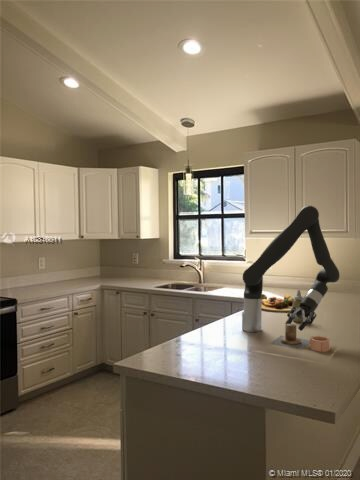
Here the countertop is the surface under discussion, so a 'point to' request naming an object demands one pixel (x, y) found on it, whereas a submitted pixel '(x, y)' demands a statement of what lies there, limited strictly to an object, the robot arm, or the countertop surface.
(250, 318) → the robot arm
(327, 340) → the terracotta bowl
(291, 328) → the walnut lid
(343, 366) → the countertop surface
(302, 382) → the countertop surface
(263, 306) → the wooden plate with food
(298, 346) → the rubber mat
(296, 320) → the squeeze bottle
